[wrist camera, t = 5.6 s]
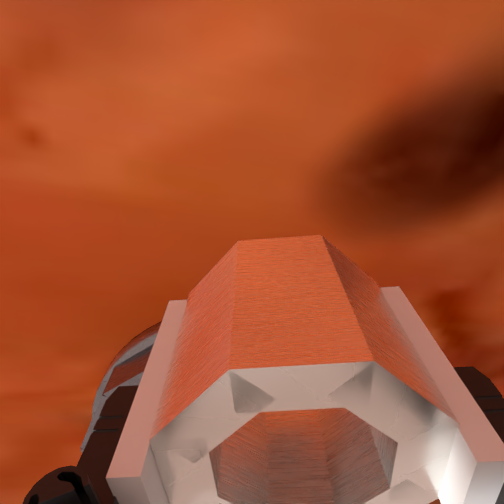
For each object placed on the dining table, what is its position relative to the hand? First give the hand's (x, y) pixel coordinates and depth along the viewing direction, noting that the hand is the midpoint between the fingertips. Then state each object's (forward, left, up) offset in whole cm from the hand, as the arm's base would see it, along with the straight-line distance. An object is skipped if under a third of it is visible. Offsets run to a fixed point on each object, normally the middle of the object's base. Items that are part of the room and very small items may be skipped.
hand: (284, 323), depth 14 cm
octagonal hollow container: (0, 0, 0) cm, 0 cm away
